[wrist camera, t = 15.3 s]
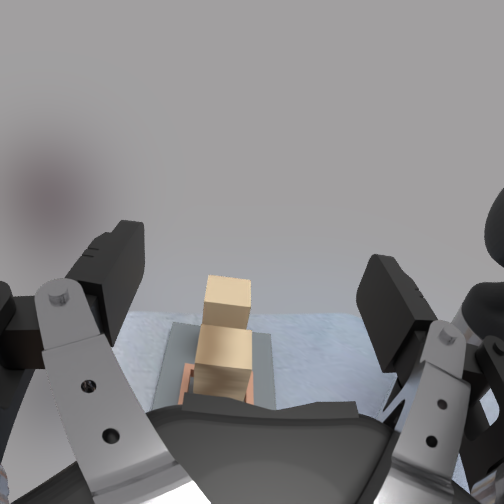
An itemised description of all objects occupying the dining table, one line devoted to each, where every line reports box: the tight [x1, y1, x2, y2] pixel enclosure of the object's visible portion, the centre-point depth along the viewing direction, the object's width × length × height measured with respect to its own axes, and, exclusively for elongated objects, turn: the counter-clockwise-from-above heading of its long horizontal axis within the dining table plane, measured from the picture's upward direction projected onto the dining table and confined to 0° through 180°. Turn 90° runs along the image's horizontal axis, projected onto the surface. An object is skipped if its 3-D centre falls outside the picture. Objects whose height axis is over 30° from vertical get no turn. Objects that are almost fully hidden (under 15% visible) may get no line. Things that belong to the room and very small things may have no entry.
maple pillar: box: [193, 324, 252, 402], centre depth 31 cm, size 5×5×10 cm
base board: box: [152, 275, 276, 410], centre depth 35 cm, size 14×17×12 cm
